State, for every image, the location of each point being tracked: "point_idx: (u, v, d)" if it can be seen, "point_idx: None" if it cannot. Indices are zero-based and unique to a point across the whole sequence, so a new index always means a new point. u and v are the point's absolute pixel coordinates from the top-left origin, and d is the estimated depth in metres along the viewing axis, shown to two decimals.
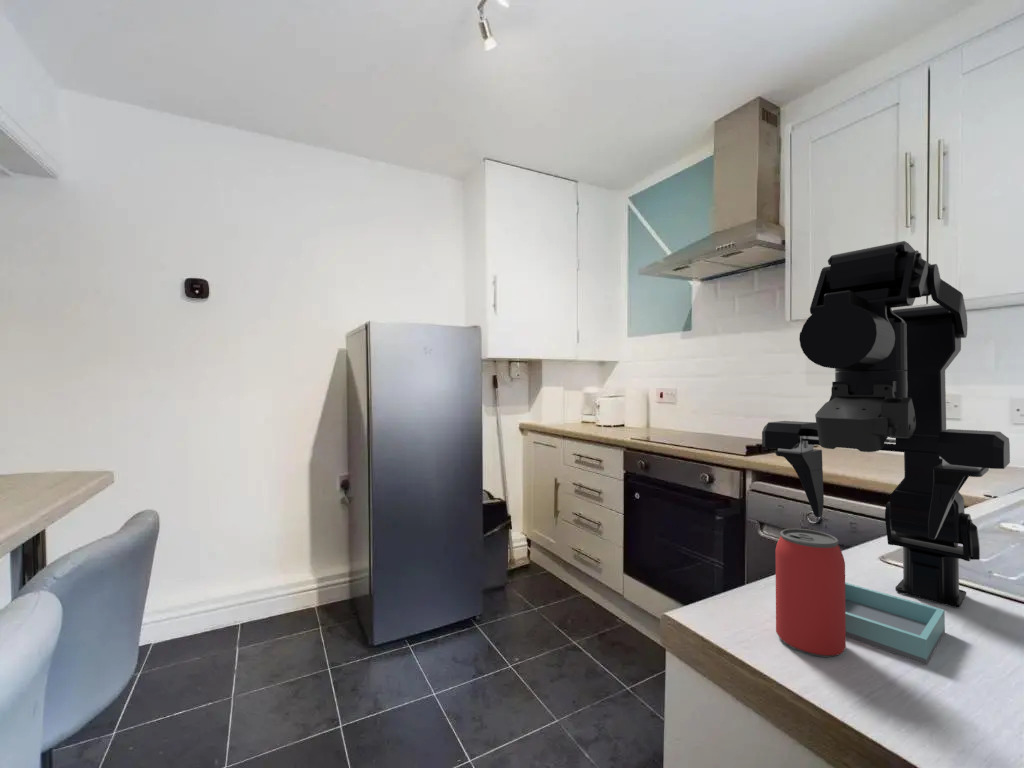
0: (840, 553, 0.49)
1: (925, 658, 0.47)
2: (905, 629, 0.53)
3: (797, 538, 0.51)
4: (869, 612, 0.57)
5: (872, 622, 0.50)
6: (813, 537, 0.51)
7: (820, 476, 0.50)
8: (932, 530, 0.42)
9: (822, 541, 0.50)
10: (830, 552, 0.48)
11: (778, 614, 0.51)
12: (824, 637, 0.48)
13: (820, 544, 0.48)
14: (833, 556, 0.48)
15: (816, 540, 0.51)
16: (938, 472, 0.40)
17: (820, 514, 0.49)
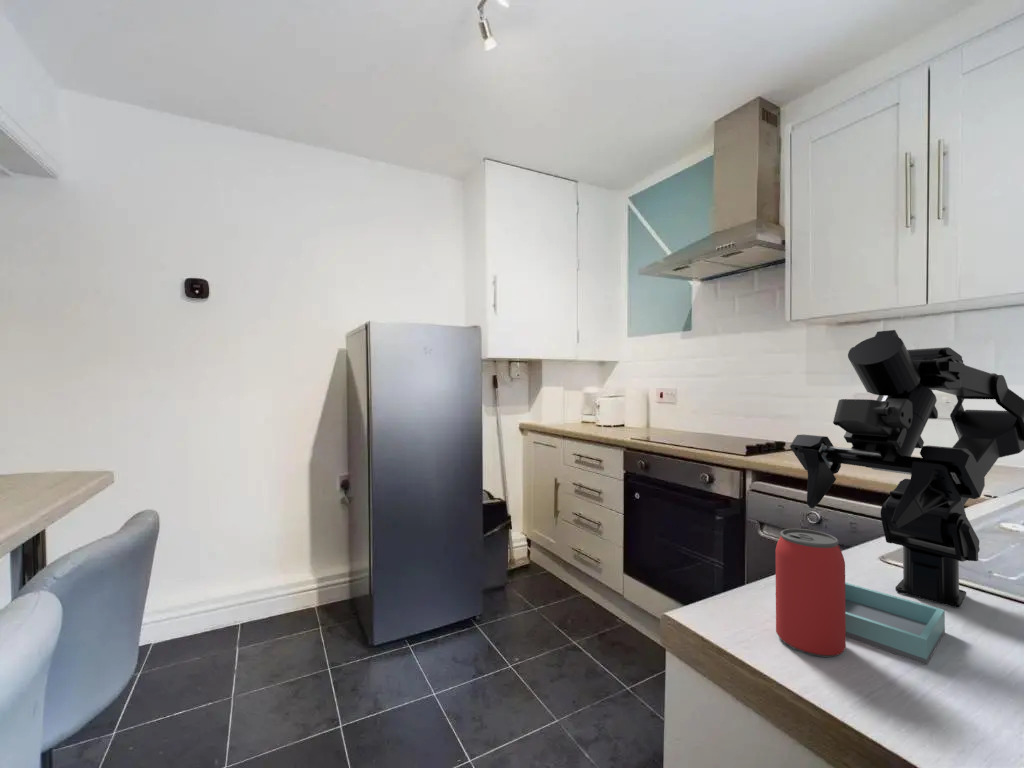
0: (840, 553, 0.49)
1: (925, 658, 0.47)
2: (905, 629, 0.53)
3: (797, 538, 0.51)
4: (869, 612, 0.57)
5: (872, 622, 0.50)
6: (813, 537, 0.51)
7: (825, 486, 0.61)
8: (896, 515, 0.50)
9: (822, 541, 0.50)
10: (830, 552, 0.48)
11: (778, 614, 0.51)
12: (824, 637, 0.48)
13: (820, 544, 0.48)
14: (833, 556, 0.48)
15: (816, 540, 0.51)
16: (915, 466, 0.51)
17: (812, 505, 0.59)
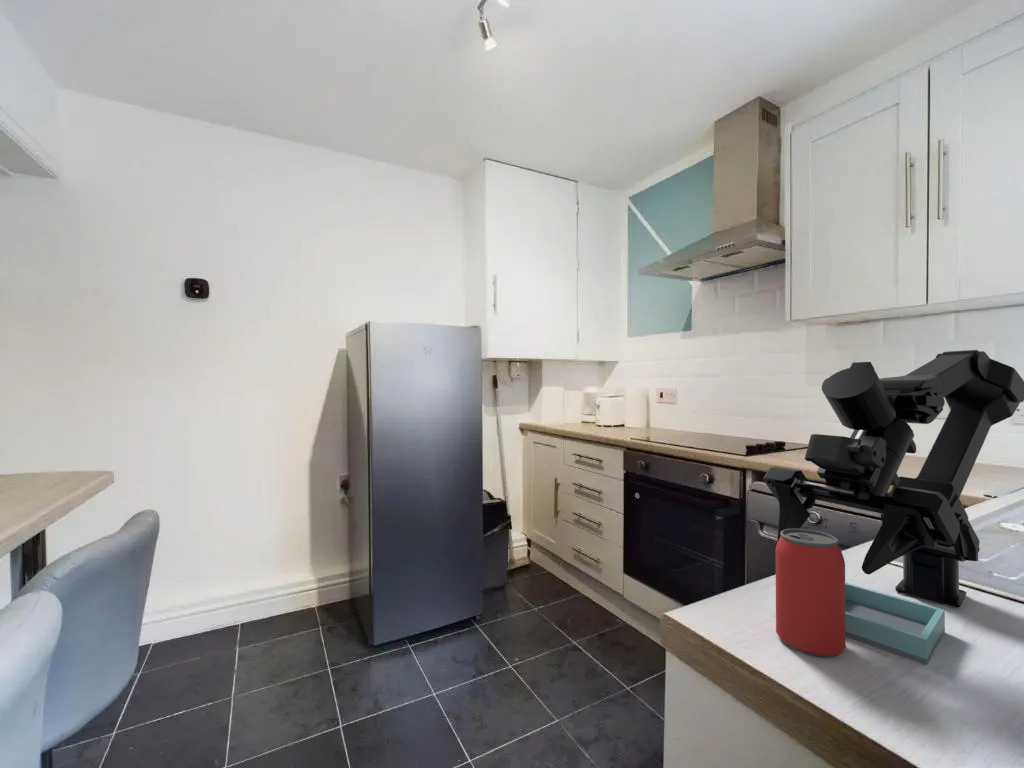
0: (840, 553, 0.49)
1: (925, 658, 0.47)
2: (905, 629, 0.53)
3: (797, 538, 0.51)
4: (869, 612, 0.57)
5: (872, 622, 0.50)
6: (813, 537, 0.51)
7: (798, 523, 0.58)
8: (866, 561, 0.48)
9: (822, 541, 0.50)
10: (830, 552, 0.48)
11: (778, 614, 0.51)
12: (824, 637, 0.48)
13: (820, 544, 0.48)
14: (833, 556, 0.48)
15: (816, 540, 0.51)
16: (887, 509, 0.48)
17: None
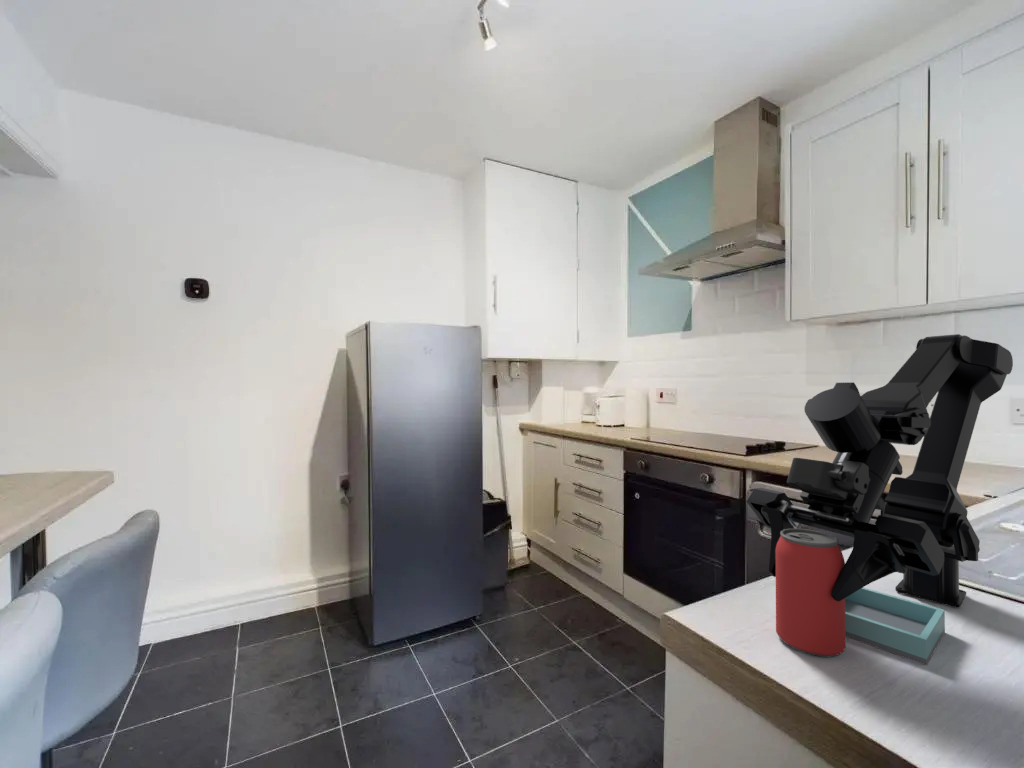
0: (840, 553, 0.49)
1: (925, 658, 0.47)
2: (905, 629, 0.53)
3: (797, 538, 0.51)
4: (869, 612, 0.57)
5: (872, 622, 0.50)
6: (813, 537, 0.51)
7: None
8: (836, 588, 0.47)
9: (822, 541, 0.50)
10: (830, 552, 0.48)
11: (778, 614, 0.51)
12: (824, 637, 0.48)
13: (820, 544, 0.48)
14: (833, 556, 0.48)
15: (816, 540, 0.51)
16: (857, 534, 0.48)
17: (774, 573, 0.53)
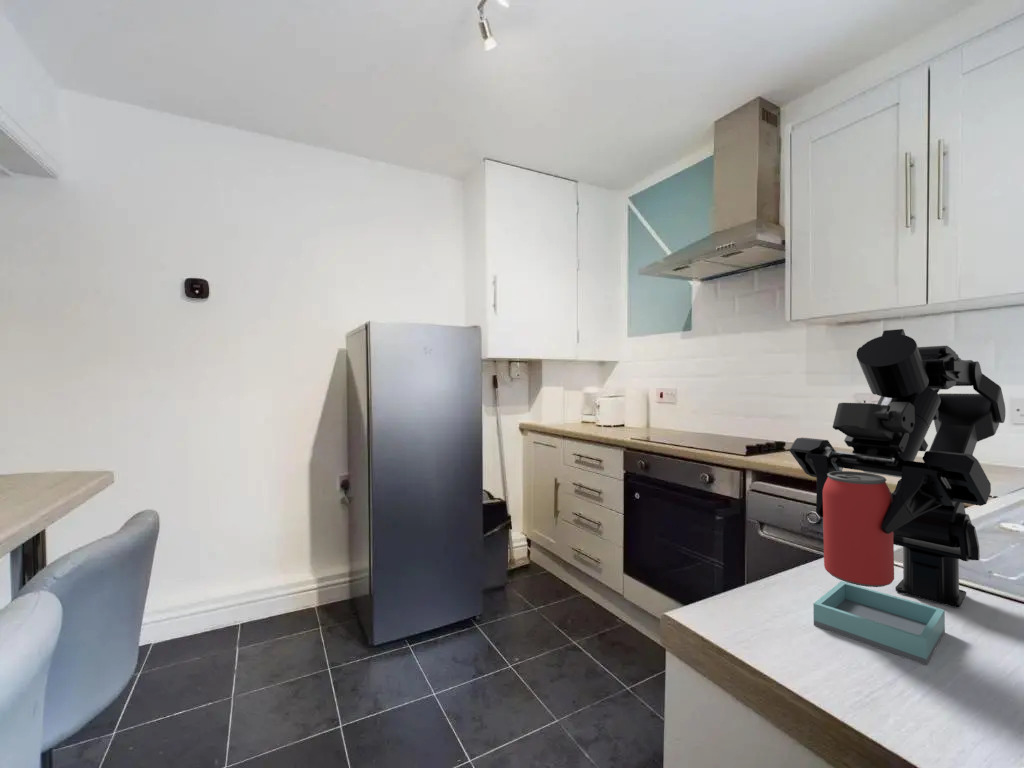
0: (888, 489, 0.51)
1: (925, 658, 0.47)
2: (905, 629, 0.53)
3: (844, 478, 0.54)
4: (869, 612, 0.57)
5: (872, 622, 0.50)
6: (860, 477, 0.54)
7: None
8: (885, 521, 0.50)
9: (869, 479, 0.53)
10: (878, 488, 0.51)
11: (827, 551, 0.54)
12: (874, 568, 0.50)
13: (869, 481, 0.51)
14: (882, 492, 0.51)
15: (863, 479, 0.53)
16: (905, 470, 0.50)
17: (821, 514, 0.56)
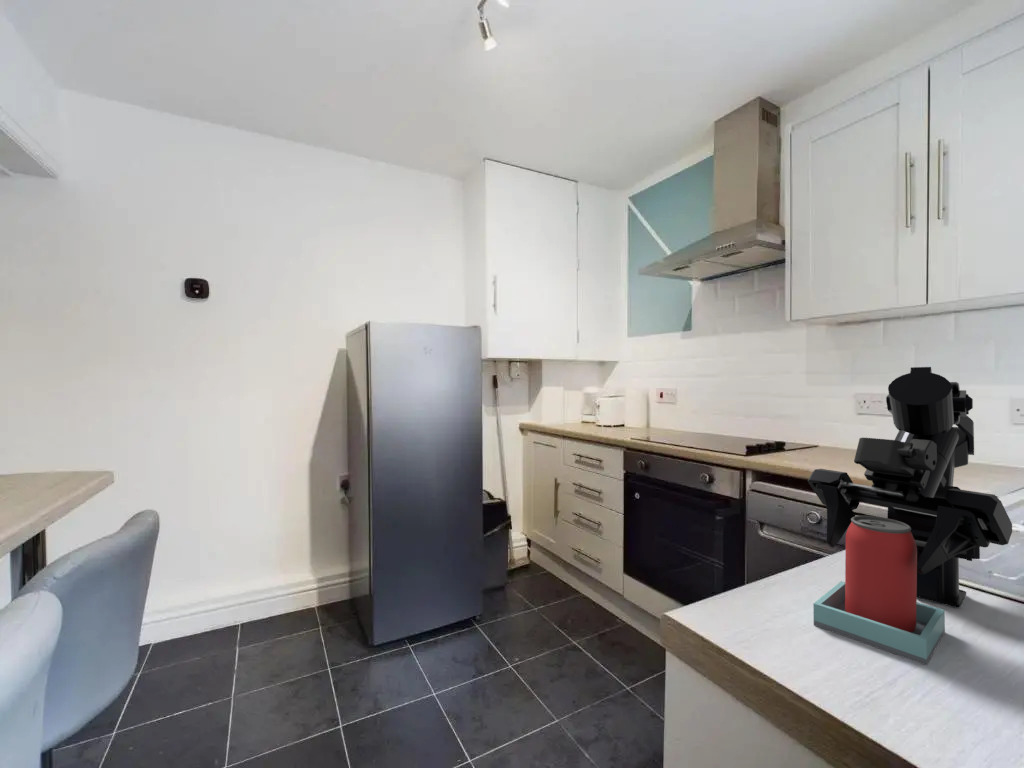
0: (913, 538, 0.52)
1: (925, 658, 0.47)
2: None
3: (869, 524, 0.54)
4: None
5: (872, 622, 0.50)
6: (884, 524, 0.54)
7: (845, 524, 0.59)
8: (921, 561, 0.49)
9: (894, 527, 0.53)
10: (904, 538, 0.51)
11: (850, 596, 0.54)
12: (898, 617, 0.51)
13: (895, 530, 0.51)
14: (908, 541, 0.51)
15: (888, 526, 0.53)
16: (941, 510, 0.50)
17: (832, 544, 0.57)
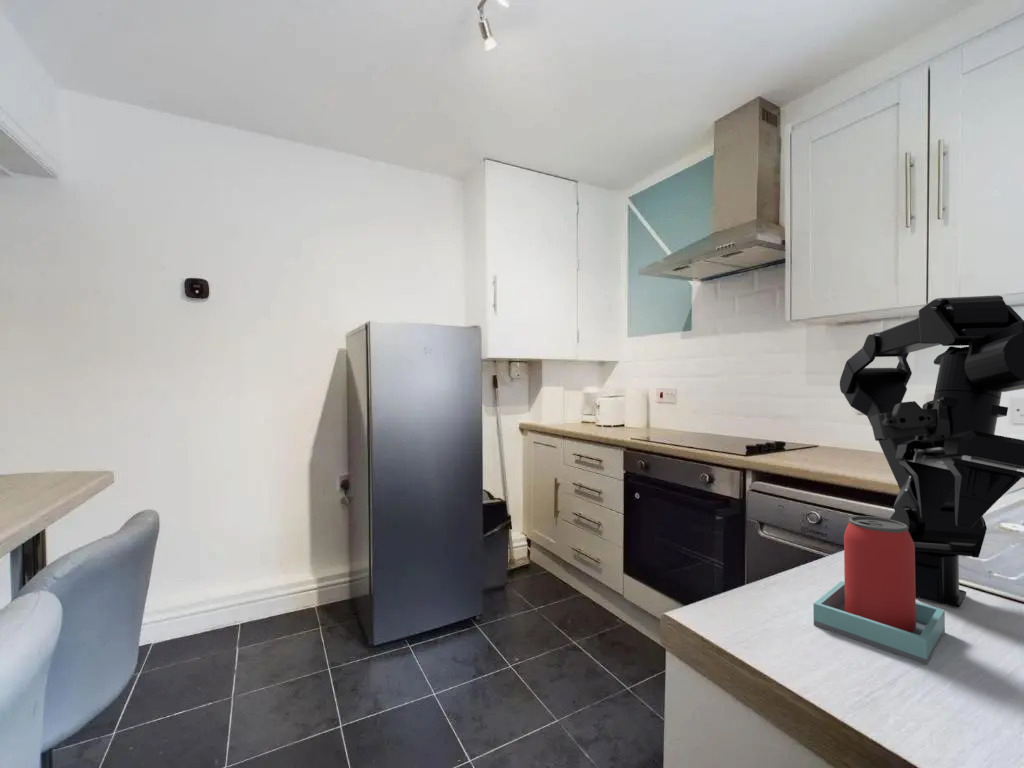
0: (910, 537, 0.52)
1: (925, 658, 0.47)
2: None
3: (867, 524, 0.54)
4: None
5: (872, 622, 0.50)
6: (882, 524, 0.55)
7: (943, 490, 0.58)
8: (956, 517, 0.50)
9: (892, 527, 0.53)
10: (901, 537, 0.51)
11: (849, 596, 0.55)
12: (897, 616, 0.51)
13: (892, 529, 0.52)
14: (905, 540, 0.51)
15: (885, 526, 0.54)
16: (945, 462, 0.51)
17: (927, 517, 0.58)
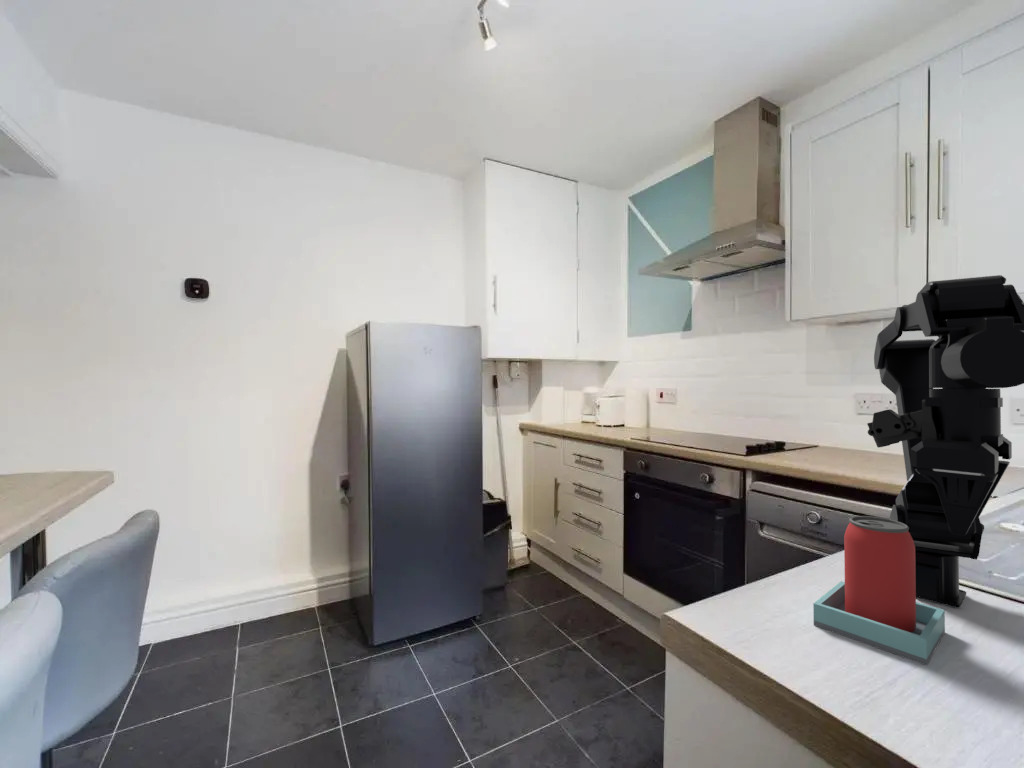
0: (911, 538, 0.52)
1: (925, 658, 0.47)
2: None
3: (867, 524, 0.54)
4: None
5: (872, 622, 0.50)
6: (882, 524, 0.54)
7: None
8: (948, 524, 0.49)
9: (892, 527, 0.53)
10: (902, 537, 0.51)
11: (849, 596, 0.54)
12: (897, 617, 0.51)
13: (893, 529, 0.52)
14: (906, 541, 0.51)
15: (886, 526, 0.54)
16: None
17: None
